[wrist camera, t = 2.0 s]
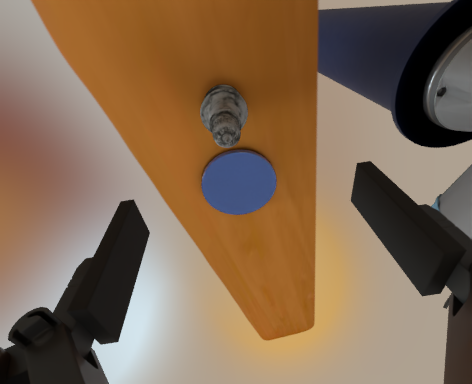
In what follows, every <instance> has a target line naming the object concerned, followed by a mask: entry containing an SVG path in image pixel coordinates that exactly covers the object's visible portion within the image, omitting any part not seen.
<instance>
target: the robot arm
mask: <svg viewBox="0 0 472 384" xmlns="http://www.w3.org/2000/svg"><path fill="white" fill-rule="evenodd" d="M421 101H422V108H423V111H424V113H425V115H426V117H427V118H428V119H429V120H430V121H431V122H433V123H435V124H437V125H439V126H441V127H443V128H446V129H450V130H456V131H470V132H472V24H471V25H470V26H468V27H467V28H466V29H464V30H463V31H462V32H460V33H459V34H458V35H457V36H456V37H455V38H454V39H453V40H452V41H451V42H450V43H449V44H448V45H447V46H446V47H445V48H444V49H443V50H442V52H441V53H440V54H439V56H438V57H437V58H436V60H435V61H434V63H433V65H432V66H431V68H430V70H429V72H428V74H427V77H426V79H425V82H424V85H423V89H422V97H421ZM351 202H352V203H353V204H354V206H355V207H356V208H357V210H358V211H359V212H360V213H361V215H362V216H363V218H364V219H365V220H366V221H367V223H368V224H369V226H370V227H371V228H372V230H373V231H374V232H375V234H376V235H377V236H378V238H379V239H380V240H381V242H382V243H383V244H384V246H385V247H386V248H387V250H388V251H389V252H390V254H391V255H392V256H393V258H394V259H395V260H396V262H397V263H398V265H399V266H400V267H401V268H402V270H403V271H404V272H405V274H406V275H407V277H408V278H409V279H410V280H411V282H412V283H413V284H414V286H415V287H416V289H417V290H418V291H419V293H420V294H421V295H422V296H427V295H434V294H440V293H441V292H442V290H443V288H444V287H445V285H446V286H447V287H448V288H449V289H450V290H451V291H452V293H451V295H450V297H449V298H448V299H447V301H446V302H445V304H444V308H446V309H447V307H448V306H449V314H448V328H447V329H448V330H447V343H446V358H445V372H444V384H472V165H471V166H470V167H469V168H468V169H467V170H466V171H465V172H464V173H463V174H462V175H461V176H460V177H459V178H458V179H457V180H456V181H455V182H454V183H453V184H452V185H451V186H450V187H449V188H448V189H447V190H446V191H445V192H444V193H443V194H440V195H439V196H438V197H437V198H436V201H435V203H434V204H433V205H432V206H431V207H430V206H429V205H426V204H424V205H417V204H416V203H415V202H414V201H413V200H412V199H411V198H410V197H409V196H408V195H407V194H405V193H404V192H403V191H402V190H401V189H400V188H399V187H398V186H397V185H396V184H395V183H393V182H392V181H391V180H390V179H389V178H388V177H387V176H386V175H385V174H384V173H383V172H382V171H380V170H379V169H378V168H377V167H376V166H375V165H374V164H373V163H372V162H370V161H368V162H362V163H357V167H356V173H355V179H354V185H353V190H352V197H351ZM149 234H150V232H149V230H148V228H147V226H146V224H145V222H144V220H143V218H142V216H141V214H140V212H139V210H138V208H137V206H136V204H135V202H134V200H128V201H121V202H120V204H119V206H118V208H117V210H116V212H115V214H114V217H113V218H112V220H111V222H110V224H109V226H108V228H107V231H106V233H105V235H104V237H103V239H102V241H101V243H100V245H99V247H98V249H97V251H96V253H95V255H94V257H92V258H86V259H85V260H84V261H83V262H82V263H81V264H80V265H79V266H78V268H77V269H76V271H75V273H74V275H73V276H72V279H71V280H70V282H69V284H68V287H67V288H66V289H65V291H64V293H63V295H62V297H61V299H60V301H59V303H58V304H57V306H56V308H55V310H54V312H53V313H52V312H51V311H50V310H49V309H48V308H44V307H40V308H36V309H33V310H31V311H29V312H28V313H26V314H25V315H24V316H22V317H21V318H20V319H19V320H18V321H17V322H16V323H15V325H14V326H13V327H12V329H11V331H10V332H9V336H8V340H9V341H11V342H12V343H14V344H15V345H13V346H11V347H9V348H7V349H2V348H1V347H0V384H109V383H108V381H107V378H106V376H105V374H104V371H103V369H102V367H101V365H100V363H99V360H98V358H97V356H96V354H95V351H94V350H93V349H92V348H91V347H92V343H93V341H94V339H96V340H97V341H98V342H99V343H100V344H108V343H114V342H118V341H119V337H120V333H121V330H122V327H123V323H124V320H125V316H126V313H127V309H128V306H129V303H130V299H131V296H132V292H133V289H134V285H135V282H136V279H137V275H138V271H139V268H140V265H141V261H142V258H143V254H144V251H145V247H146V244H147V241H148V237H149Z"/></svg>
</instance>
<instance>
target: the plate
mask: <svg viewBox="0 0 472 384" xmlns="http://www.w3.org/2000/svg"><path fill="white" fill-rule="evenodd" d="M275 188H276V175H275V172H274V169H273V167H272V165H271V164H270V162H269V161H268V160H267V159H266V158H265V157H264V156H262V155H260V154H258V153H256V152H254V151H250V150H243V149H238V150H231V151H227V152H224V153H222V154H220V155H218V156H217V157H215V158H214V159H213V160H212V161H211V162H210V163H209V164H208V165H207V167H206V168H205V170H204V173H203V176H202V192H203V195H204V197H205V199H206V200H207V202H208V203H209V204H210V205H211V206H212V207H214V208H215V209H217V210H219V211H221V212H224V213H227V214H234V215H240V214H247V213H250V212H253V211H256V210H258V209H259V208H261V207H262V206H264V205H265V204H266V203H267V202H268V201H269V200H270V199H271V197H272V195H273V194H274V191H275Z"/></svg>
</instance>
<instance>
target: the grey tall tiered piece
mask: <svg viewBox="0 0 472 384" xmlns="http://www.w3.org/2000/svg"><path fill="white" fill-rule="evenodd" d="M200 114H201V119H202V122H203V124H204V126H205V127H206V128H207V129H208V130H209V131H210V132H212V134H213V138H214V140H215V142H216V143H217V144H218V145H219V146H221V147H225V148H229V147H233V146H234V145H236V144H237V143H238V141H239V139H240V134H241V133H240V130H241V129H242V128H243V126H244V124H245V123H246V120H247V117H248V109H247V104H246V102H245V100H244V99H243V98H242V96H241V95H240V94H239V92H238V91H237V90H236V89H235V88H233V87H231V86H229V85H217V86H215V87H213V88H211V89H210V90H209V91H208V92H207V94H206V96H205V99H204V100H203V102H202V105H201V109H200Z"/></svg>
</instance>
